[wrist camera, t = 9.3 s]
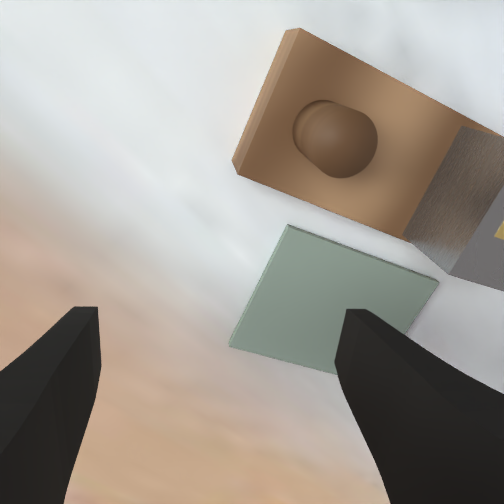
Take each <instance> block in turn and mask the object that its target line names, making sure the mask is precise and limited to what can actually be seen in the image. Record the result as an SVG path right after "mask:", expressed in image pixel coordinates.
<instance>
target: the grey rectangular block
mask: <svg viewBox="0 0 504 504" xmlns="http://www.w3.org/2000/svg"><path fill="white" fill-rule="evenodd" d="M402 235H403V236H404V237H405V238H407V239H408V240H409V241H410V242H411V243H412V244H414V245H415V246H416V247H417V248H418V249H419V250H421V251H422V252H423V253H424V254H425V255H426V256H428V257H429V258H430V259H431V260H432V261H433V262H435V263H436V264H437V265H438V266H439V267H440V268H442V269H443V270H444V271H445V272H446V273H447V274H449V275H452V276H455V277H458V278H462V279H465V280H468V281H471V282H475V283H478V284H481V285H484V286H488V287H491V288H494V289H498V290H501V291H504V137H501V136H497V135H494V134H490V133H486V132H483V131H479V130H476V129H472V128H468V127H465V126H461V127H460V129H459V131H458V133H457V135H456V137H455V138H454V140H453V142H452V144H451V146H450V148H449V149H448V151H447V153H446V155H445V157H444V159H443V160H442V162H441V164H440V166H439V168H438V170H437V171H436V173H435V175H434V177H433V179H432V181H431V182H430V184H429V186H428V188H427V190H426V191H425V193H424V195H423V197H422V199H421V201H420V202H419V204H418V206H417V208H416V210H415V212H414V213H413V215H412V217H411V219H410V221H409V223H408V224H407V226H406V228H405V230H404V232H403V234H402Z"/></svg>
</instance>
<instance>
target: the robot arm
mask: <svg viewBox="0 0 504 504" xmlns="http://www.w3.org/2000/svg"><path fill="white" fill-rule="evenodd" d="M334 364H335V367H336V371H337V374H338V378H339V381H340V384H341V387H342V390H343V393H344V395H345V398H346V400H347V402H348V404H349V406H350V409H351V411H352V413H353V415H354V417H355V419H356V422H357V424H358V426H359V428H360V430H361V432H362V434H363V437H364V439H365V441H366V443H367V445H368V447H369V449H370V451H371V454H372V456H373V458H374V460H375V463H376V465H377V467H378V470H379V472H380V475H381V477H382V480H383V483H384V486H385V489H386V492H387V494H388V497H389V500H390V503H391V504H504V394H502V393H500V392H498V391H496V390H494V389H492V388H490V387H488V386H487V385H485V384H483V383H481V382H479V381H477V380H475V379H474V378H472V377H470V376H468V375H466V374H464V373H463V372H461V371H459V370H457V369H456V368H454V367H453V366H451V365H449V364H448V363H446V362H444V361H443V360H441V359H440V358H438V357H436V356H435V355H433V354H432V353H430V352H429V351H427V350H426V349H424V348H423V347H421V346H420V345H418V344H417V343H415V342H414V341H413V340H411V339H410V338H408V337H407V336H405V335H404V334H402V333H401V332H400V331H398V330H397V329H395V328H394V327H393V326H391V325H390V324H388V323H387V322H385V321H384V320H382V319H381V318H380V317H378V316H377V315H375V314H373V313H372V312H370V311H368V310H367V309H346V313H345V318H344V322H343V326H342V330H341V335H340V339H339V343H338V347H337V352H336V356H335V360H334ZM100 371H101V351H100V335H99V319H98V307H73V308H72V309H71V310H70V311H69V312H67V313H66V314H65V315H64V316H63V317H62V318H61V319H60V320H59V321H58V322H57V323H56V324H55V325H54V326H53V327H51V328H50V329H49V330H48V331H47V332H46V333H45V334H44V335H43V336H42V337H41V338H39V339H38V340H37V341H36V342H35V343H34V344H33V345H32V346H30V347H29V348H28V349H27V350H26V351H25V352H24V353H22V354H21V355H20V356H19V357H18V358H16V359H15V360H14V361H13V362H11V363H10V364H9V365H8V366H6V367H5V368H4V369H3V370H1V371H0V504H64V499H65V495H66V491H67V487H68V484H69V480H70V477H71V473H72V470H73V467H74V464H75V461H76V458H77V455H78V452H79V449H80V446H81V442H82V439H83V436H84V433H85V430H86V427H87V424H88V421H89V418H90V414H91V411H92V408H93V405H94V402H95V398H96V393H97V388H98V382H99V377H100Z"/></svg>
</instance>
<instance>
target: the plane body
mask: <svg viewBox="0 0 504 504" xmlns="http://www.w3.org/2000/svg"><path fill="white" fill-rule="evenodd" d="M461 126H465V127H468V128H472V129H476V130H479V131H483V132H486V133H490V134H494V135H497V136H501V135H499V134H497V133H495V132H494V131H492V130H490V129H488V128H486V127H484V126H482V125H481V124H479V123H477V122H475V121H473V120H471V119H469V118H467V117H466V116H464V115H462V114H460V113H458V112H456V111H454V110H453V109H451V108H449V107H447V106H445V105H443V104H441V103H439V102H438V101H436V100H434V99H432V98H430V97H428V96H426V95H425V94H423V93H421V92H419V91H417V90H415V89H413V88H411V87H410V86H408V85H406V84H404V83H402V82H400V81H398V80H397V79H395V78H393V77H391V76H389V75H387V74H385V73H383V72H382V71H380V70H378V69H376V68H374V67H372V66H370V65H369V64H367V63H365V62H363V61H361V60H359V59H357V58H355V57H354V56H352V55H350V54H348V53H346V52H344V51H342V50H341V49H339V48H337V47H335V46H333V45H331V44H329V43H328V42H326V41H324V40H322V39H320V38H318V37H316V36H314V35H313V34H311V33H309V32H307V31H305V30H303V29H301V28H297V29H291V30H286V31H285V34H284V36H283V38H282V41H281V43H280V46H279V48H278V50H277V53H276V55H275V58H274V60H273V62H272V65H271V67H270V70H269V72H268V74H267V77H266V79H265V82H264V84H263V86H262V89H261V91H260V94H259V96H258V98H257V101H256V103H255V106H254V108H253V110H252V113H251V115H250V118H249V120H248V122H247V125H246V127H245V130H244V132H243V134H242V137H241V139H240V142H239V144H238V146H237V149H236V151H235V154H234V156H233V158H232V162H233V165H234V167H235V169H236V172H237V174H238V175H241V176H243V177H246V178H248V179H251V180H253V181H256V182H258V183H261V184H263V185H266V186H268V187H271V188H273V189H276V190H278V191H281V192H284V193H286V194H289V195H291V196H294V197H296V198H299V199H301V200H304V201H306V202H309V203H311V204H314V205H316V206H319V207H321V208H324V209H326V210H329V211H331V212H334V213H336V214H339V215H341V216H344V217H347V218H349V219H352V220H354V221H357V222H359V223H362V224H364V225H367V226H369V227H372V228H374V229H377V230H379V231H382V232H384V233H387V234H389V235H392V236H394V237H397V238H399V239H402V240H404V241H407V242H410V241H409V240H408V239H407V238H405V237H404V236H403V235H402V234H403V232H404V230H405V228H406V226H407V224H408V223H409V221H410V219H411V217H412V215H413V213H414V212H415V210H416V208H417V206H418V204H419V202H420V201H421V199H422V197H423V195H424V193H425V191H426V190H427V188H428V186H429V184H430V182H431V181H432V179H433V177H434V175H435V173H436V171H437V170H438V168H439V166H440V164H441V162H442V160H443V159H444V157H445V155H446V153H447V151H448V149H449V148H450V146H451V144H452V142H453V140H454V138H455V137H456V135H457V133H458V131H459V129H460V127H461ZM501 137H503V136H501ZM410 243H411V242H410Z"/></svg>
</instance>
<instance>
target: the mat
mask: <svg viewBox="0 0 504 504" xmlns="http://www.w3.org/2000/svg"><path fill="white" fill-rule="evenodd" d="M438 284H439V282H438V281H437V280H436V279H433V278H430V277H428V276H425V275H422V274H420V273H417V272H414V271H412V270H409V269H406V268H404V267H401V266H398V265H396V264H393V263H390V262H387V261H385V260H382V259H379V258H377V257H374V256H371V255H369V254H366V253H363V252H361V251H358V250H355V249H353V248H350V247H347V246H345V245H342V244H339V243H336V242H334V241H331V240H328V239H326V238H323V237H320V236H318V235H315V234H312V233H310V232H307V231H304V230H302V229H299V228H296V227H294V226H291V225H288V224H287V226H286V228H285V230H284V232H283V234H282V236H281V238H280V240H279V242H278V244H277V246H276V248H275V250H274V252H273V254H272V256H271V258H270V260H269V262H268V264H267V266H266V268H265V270H264V272H263V274H262V276H261V278H260V280H259V282H258V284H257V286H256V288H255V290H254V292H253V295H252V297H251V299H250V301H249V303H248V305H247V307H246V309H245V311H244V313H243V315H242V317H241V319H240V321H239V323H238V325H237V327H236V329H235V331H234V333H233V335H232V337H231V339H230V341H229V347H232V348H236V349H240V350H244V351H248V352H251V353H255V354H259V355H263V356H267V357H270V358H274V359H278V360H282V361H286V362H290V363H293V364H297V365H301V366H305V367H309V368H312V369H316V370H320V371H324V372H328V373H332V374H335V375H338V374H337V371H336V367H335V364H334V360H335V356H336V352H337V347H338V343H339V339H340V335H341V330H342V326H343V322H344V318H345V313H346V309H367V310H368V311H370V312H372V313H373V314H375V315H377V316H378V317H380V318H381V319H382V320H384V321H385V322H387V323H388V324H390V325H391V326H393V327H394V328H395V329H397V330H398V331H400V332H401V333H402V334H405V333H406V331H407V330H408V328H409V327H410V325H411V324H412V322H413V321H414V319H415V318H416V317H417V315H418V314H419V312H420V311H421V309H422V308H423V306H424V305H425V303H426V302H427V300H428V299H429V297H430V296H431V294H432V293H433V292H434V290H435V289H436V287H437V286H438Z"/></svg>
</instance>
